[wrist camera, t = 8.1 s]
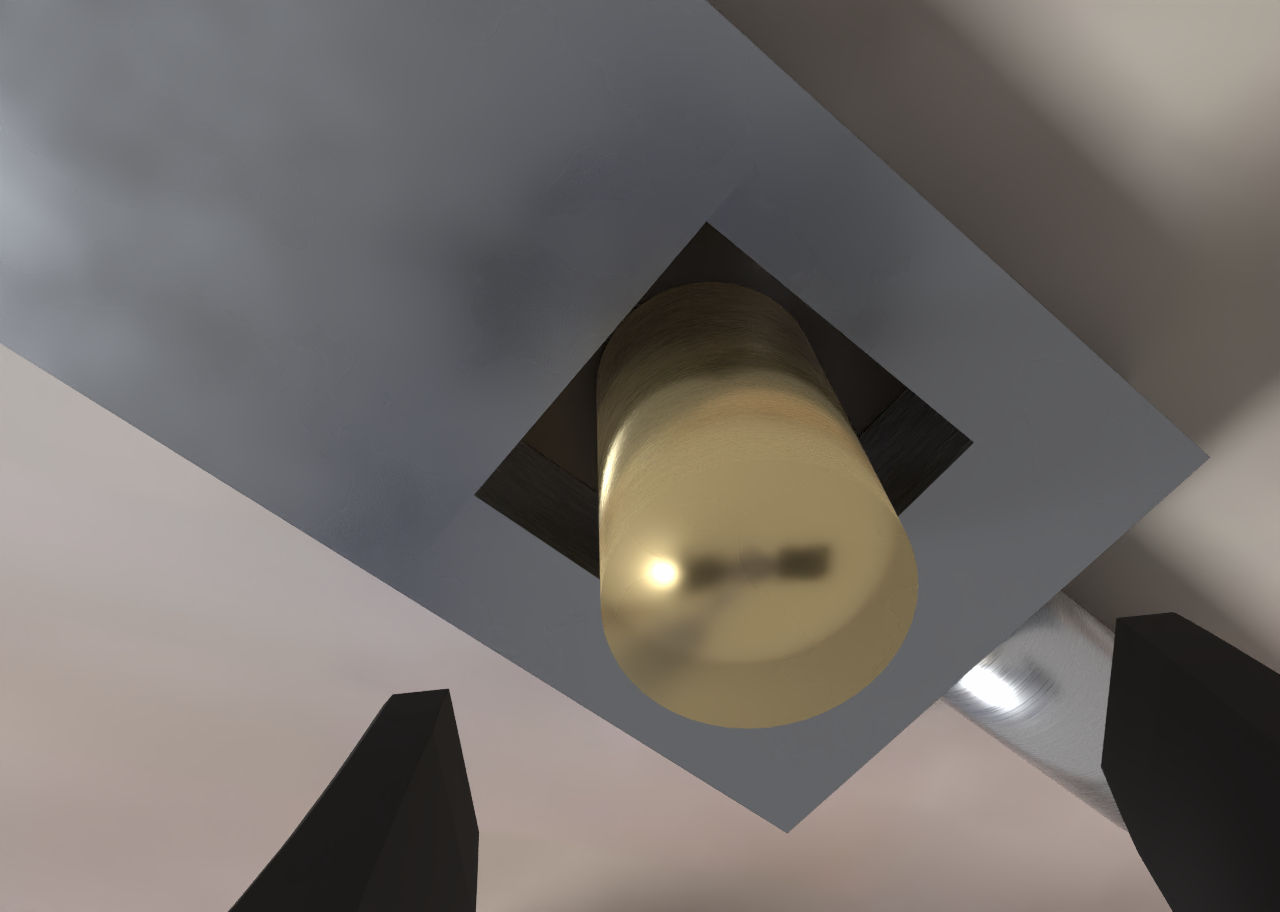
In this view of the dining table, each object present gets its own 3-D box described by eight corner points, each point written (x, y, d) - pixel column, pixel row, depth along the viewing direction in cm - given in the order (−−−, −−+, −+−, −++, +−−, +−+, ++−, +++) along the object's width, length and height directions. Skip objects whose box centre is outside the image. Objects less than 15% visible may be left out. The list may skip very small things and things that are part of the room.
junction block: (1320, 558, 23) (1419, 647, 20) (958, 856, 26) (1002, 967, 23) (-163, -785, 13) (-351, -956, 11) (-448, -67, 17) (-648, -61, 14)
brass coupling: (862, 371, 21) (983, 578, 14) (717, 523, 22) (770, 776, 16) (695, 234, 19) (747, 395, 13) (551, 404, 21) (535, 625, 14)
